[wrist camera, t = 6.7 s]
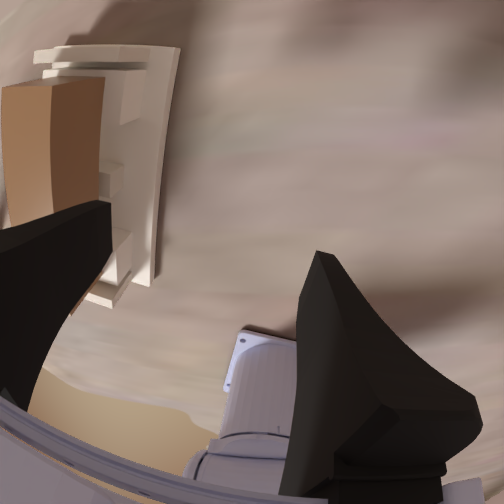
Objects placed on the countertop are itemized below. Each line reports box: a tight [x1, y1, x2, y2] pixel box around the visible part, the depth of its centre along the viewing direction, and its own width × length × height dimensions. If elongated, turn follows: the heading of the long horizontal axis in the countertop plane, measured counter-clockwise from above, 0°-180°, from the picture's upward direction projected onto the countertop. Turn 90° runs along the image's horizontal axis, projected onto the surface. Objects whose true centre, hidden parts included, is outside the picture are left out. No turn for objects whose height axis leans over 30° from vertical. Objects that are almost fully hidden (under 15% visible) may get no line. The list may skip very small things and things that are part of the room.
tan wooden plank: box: [1, 76, 105, 316], centre depth 15 cm, size 13×4×4 cm, turn 168°
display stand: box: [33, 44, 181, 309], centre depth 18 cm, size 17×9×4 cm, turn 168°
